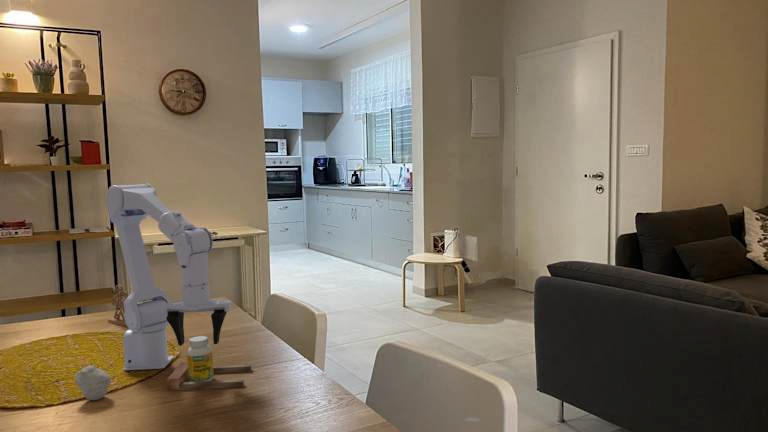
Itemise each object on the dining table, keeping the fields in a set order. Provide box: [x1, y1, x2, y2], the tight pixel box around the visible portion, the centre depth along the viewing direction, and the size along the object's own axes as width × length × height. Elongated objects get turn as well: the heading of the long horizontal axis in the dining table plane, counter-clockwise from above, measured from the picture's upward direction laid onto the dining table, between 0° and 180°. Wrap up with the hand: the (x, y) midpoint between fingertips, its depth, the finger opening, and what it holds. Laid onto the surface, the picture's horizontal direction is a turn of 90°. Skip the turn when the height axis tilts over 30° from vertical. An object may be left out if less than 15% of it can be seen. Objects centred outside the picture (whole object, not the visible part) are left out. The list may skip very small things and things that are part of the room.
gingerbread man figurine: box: [107, 284, 129, 327], centre depth 178 cm, size 9×4×12 cm, turn 56°
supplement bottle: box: [186, 335, 215, 382], centre depth 129 cm, size 5×5×10 cm
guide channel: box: [166, 361, 252, 391], centre depth 129 cm, size 16×10×2 cm, turn 93°
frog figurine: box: [74, 365, 112, 401], centre depth 120 cm, size 6×7×7 cm
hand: (199, 343), depth 128 cm, fingers open, 7 cm apart
